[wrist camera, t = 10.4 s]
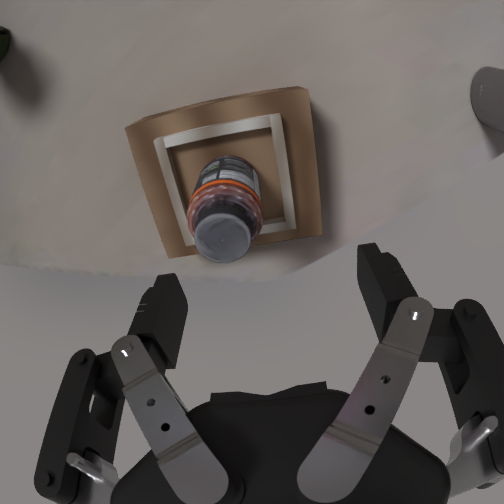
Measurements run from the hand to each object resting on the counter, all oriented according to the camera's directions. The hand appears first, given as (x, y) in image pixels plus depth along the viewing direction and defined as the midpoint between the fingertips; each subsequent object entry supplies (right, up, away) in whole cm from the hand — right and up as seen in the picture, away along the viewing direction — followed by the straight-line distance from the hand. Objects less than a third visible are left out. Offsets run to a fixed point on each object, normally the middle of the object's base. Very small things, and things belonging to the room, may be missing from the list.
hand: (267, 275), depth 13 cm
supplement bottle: (-3, +8, +17) cm, 19 cm away
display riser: (-3, +11, +22) cm, 25 cm away
